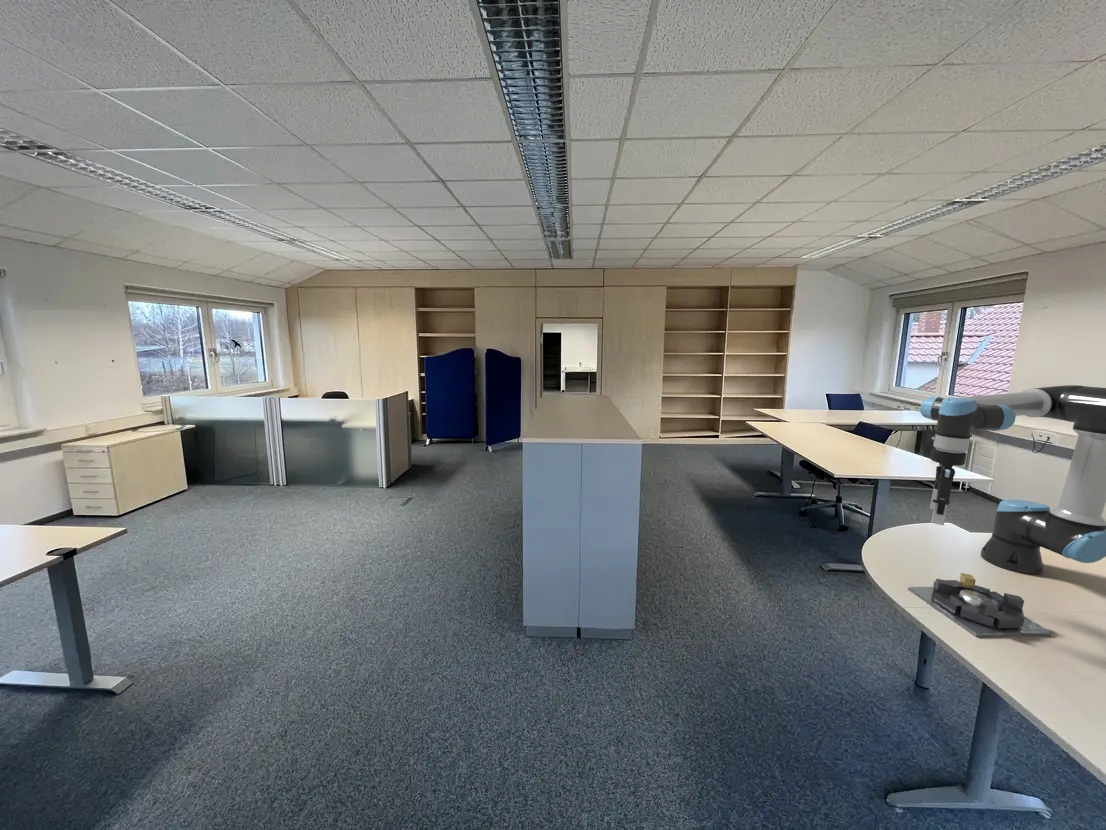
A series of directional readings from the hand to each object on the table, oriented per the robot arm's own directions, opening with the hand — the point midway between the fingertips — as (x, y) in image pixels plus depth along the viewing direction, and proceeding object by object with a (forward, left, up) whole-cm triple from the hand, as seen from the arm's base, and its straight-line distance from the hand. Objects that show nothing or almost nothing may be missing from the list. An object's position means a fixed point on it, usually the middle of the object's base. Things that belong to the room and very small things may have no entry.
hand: (936, 516), depth 128 cm
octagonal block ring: (-6, +10, -23) cm, 26 cm away
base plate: (-6, +10, -25) cm, 28 cm away
